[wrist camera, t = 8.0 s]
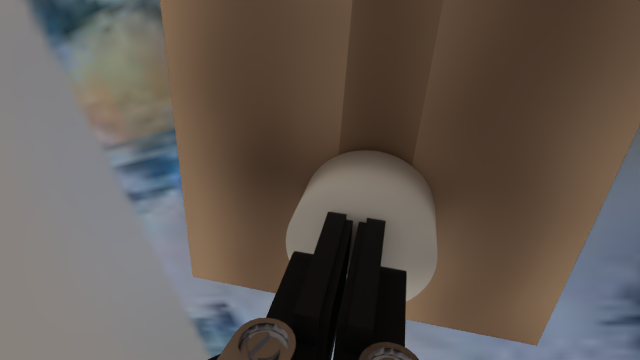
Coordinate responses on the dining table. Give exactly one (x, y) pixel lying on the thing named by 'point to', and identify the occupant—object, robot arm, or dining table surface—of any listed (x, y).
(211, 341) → the dining table surface
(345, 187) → the ivory knob
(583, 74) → the tan flat board
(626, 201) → the dining table surface
